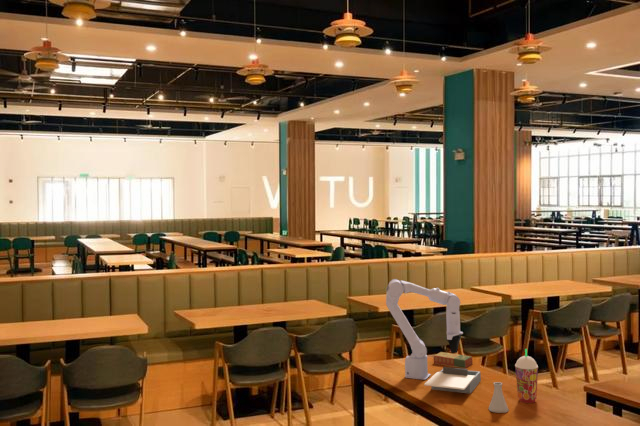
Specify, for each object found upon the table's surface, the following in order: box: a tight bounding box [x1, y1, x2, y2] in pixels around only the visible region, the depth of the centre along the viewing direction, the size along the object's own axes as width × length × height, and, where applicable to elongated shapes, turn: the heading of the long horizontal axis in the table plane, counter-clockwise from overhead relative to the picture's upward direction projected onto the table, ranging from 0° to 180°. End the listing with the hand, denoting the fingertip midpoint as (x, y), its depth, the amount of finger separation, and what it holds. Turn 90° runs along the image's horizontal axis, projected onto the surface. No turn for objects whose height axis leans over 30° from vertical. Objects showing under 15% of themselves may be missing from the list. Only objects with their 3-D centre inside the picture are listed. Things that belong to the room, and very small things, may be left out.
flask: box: [488, 381, 509, 414], centre depth 235 cm, size 7×7×10 cm
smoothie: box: [514, 348, 539, 404], centre depth 244 cm, size 8×8×20 cm
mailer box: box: [430, 368, 482, 395], centre depth 267 cm, size 16×18×4 cm
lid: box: [424, 366, 475, 390], centre depth 258 cm, size 16×18×3 cm
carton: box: [433, 351, 473, 369], centre depth 299 cm, size 8×16×4 cm, turn 53°
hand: (454, 352), depth 279 cm, fingers closed
